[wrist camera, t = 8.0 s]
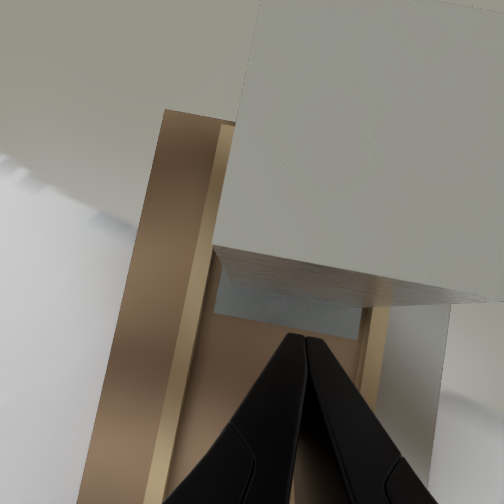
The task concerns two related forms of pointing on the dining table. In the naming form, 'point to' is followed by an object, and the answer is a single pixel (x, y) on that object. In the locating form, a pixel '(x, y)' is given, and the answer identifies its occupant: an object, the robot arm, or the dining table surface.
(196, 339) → the trammel board
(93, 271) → the dining table surface
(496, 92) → the grey rectangular block
